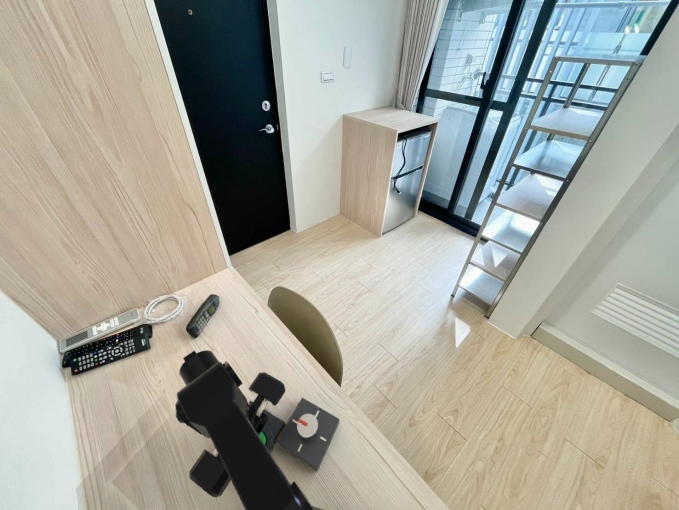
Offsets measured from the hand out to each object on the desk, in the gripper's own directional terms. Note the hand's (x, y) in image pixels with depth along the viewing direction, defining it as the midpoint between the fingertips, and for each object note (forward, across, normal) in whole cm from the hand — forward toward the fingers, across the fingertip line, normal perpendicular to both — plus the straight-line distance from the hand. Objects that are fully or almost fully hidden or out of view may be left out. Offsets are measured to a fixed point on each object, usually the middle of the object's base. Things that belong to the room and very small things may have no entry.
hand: (253, 437), depth 54 cm
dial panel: (+8, -7, +8) cm, 13 cm away
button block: (+8, -1, -3) cm, 8 cm away
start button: (+4, 0, 0) cm, 4 cm away
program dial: (+5, -7, +8) cm, 12 cm away
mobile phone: (+8, -19, -36) cm, 42 cm away
